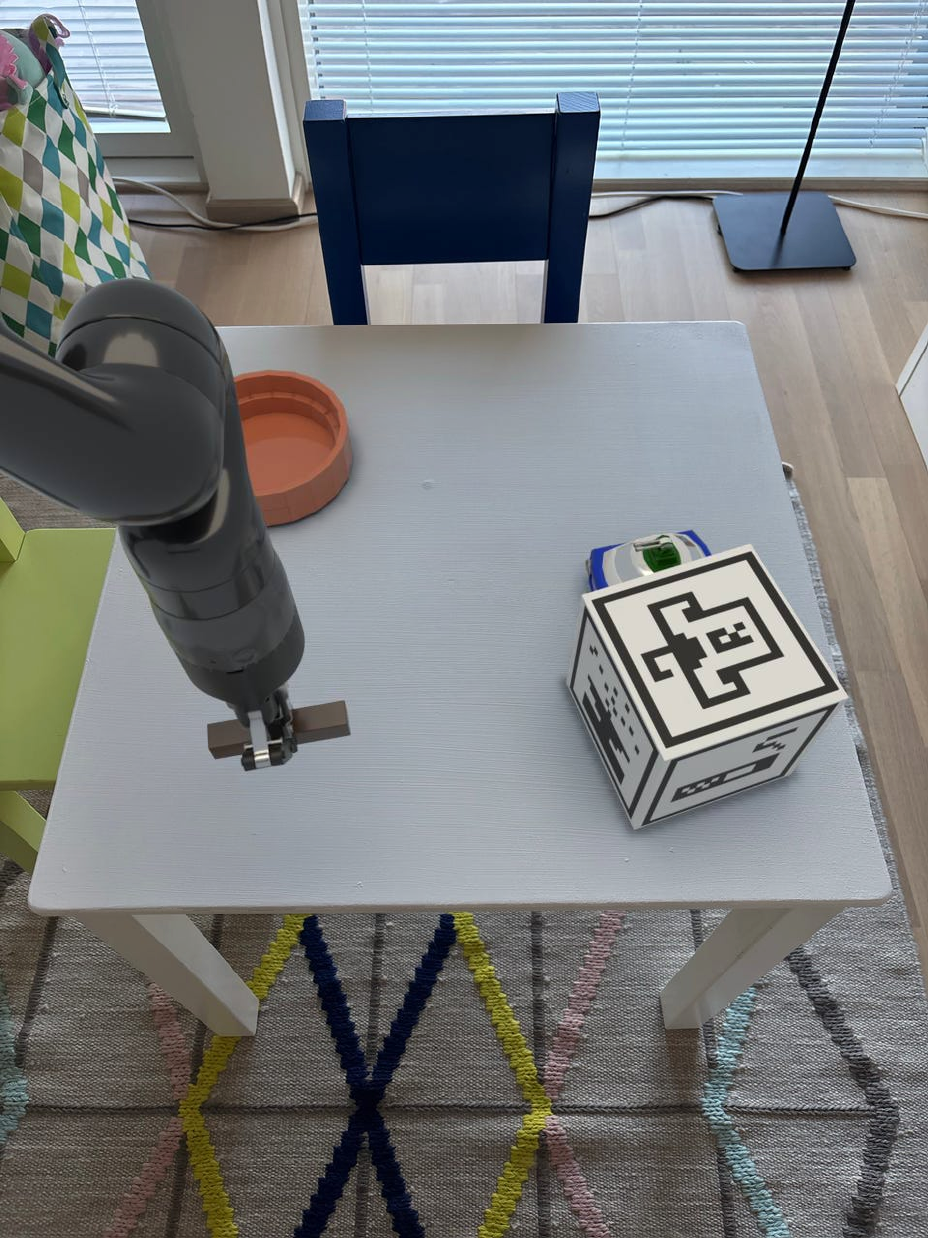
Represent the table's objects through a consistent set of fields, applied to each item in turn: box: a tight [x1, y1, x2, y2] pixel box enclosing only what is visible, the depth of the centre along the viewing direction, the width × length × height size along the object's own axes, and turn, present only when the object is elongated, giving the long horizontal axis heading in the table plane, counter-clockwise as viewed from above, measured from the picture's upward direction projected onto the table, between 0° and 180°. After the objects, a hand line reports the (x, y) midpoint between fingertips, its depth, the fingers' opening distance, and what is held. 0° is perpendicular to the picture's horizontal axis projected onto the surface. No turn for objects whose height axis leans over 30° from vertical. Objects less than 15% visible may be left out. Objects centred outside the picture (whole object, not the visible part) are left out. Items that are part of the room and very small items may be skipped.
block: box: [565, 543, 850, 831], centre depth 76 cm, size 15×15×15 cm
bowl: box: [233, 369, 354, 527], centre depth 98 cm, size 18×18×6 cm
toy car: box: [584, 529, 713, 592], centre depth 86 cm, size 9×12×10 cm
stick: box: [206, 699, 352, 760], centre depth 67 cm, size 2×10×2 cm, turn 101°
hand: (281, 735), depth 67 cm, fingers closed on stick, 2 cm apart
